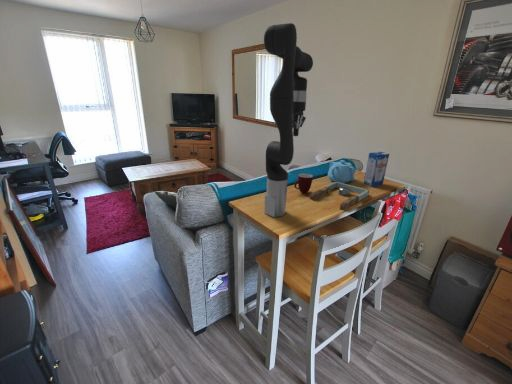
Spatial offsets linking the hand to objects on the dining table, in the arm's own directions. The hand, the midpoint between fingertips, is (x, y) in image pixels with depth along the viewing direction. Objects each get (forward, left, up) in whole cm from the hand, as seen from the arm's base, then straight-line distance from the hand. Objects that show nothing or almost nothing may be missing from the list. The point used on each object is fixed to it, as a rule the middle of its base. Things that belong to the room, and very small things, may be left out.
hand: (295, 135), depth 132 cm
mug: (+5, -4, -32) cm, 33 cm away
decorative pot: (+41, -9, -32) cm, 53 cm away
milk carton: (+50, -27, -32) cm, 65 cm away
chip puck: (+21, -22, -32) cm, 44 cm away
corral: (+22, -22, -32) cm, 45 cm away
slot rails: (+8, -22, -32) cm, 40 cm away
